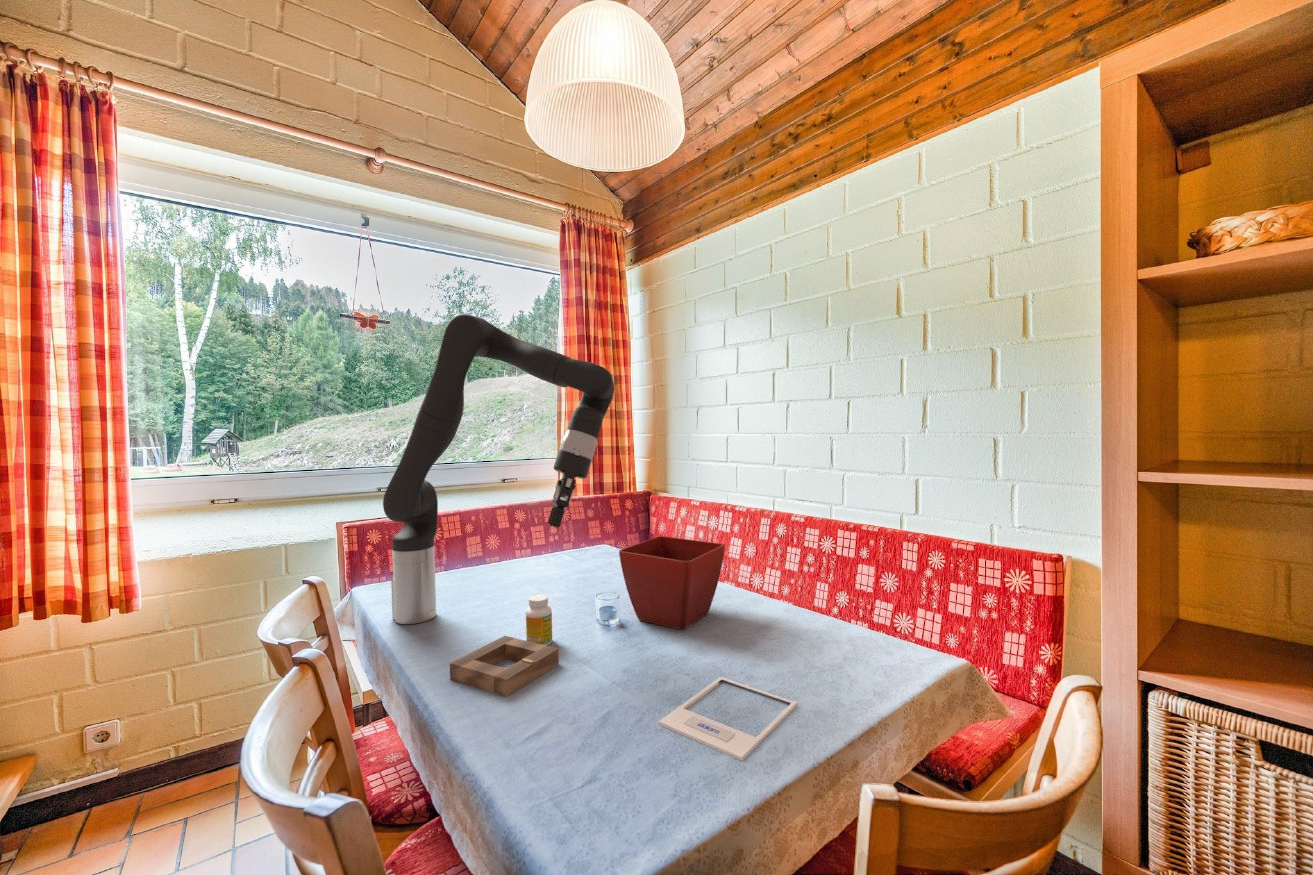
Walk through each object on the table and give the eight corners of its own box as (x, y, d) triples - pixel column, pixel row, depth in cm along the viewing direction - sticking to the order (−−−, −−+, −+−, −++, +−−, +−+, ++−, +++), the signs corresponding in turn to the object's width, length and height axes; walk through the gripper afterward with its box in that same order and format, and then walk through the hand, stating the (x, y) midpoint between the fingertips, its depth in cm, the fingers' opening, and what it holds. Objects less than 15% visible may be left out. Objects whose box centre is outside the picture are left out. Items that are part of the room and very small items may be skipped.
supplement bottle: (546, 649, 112) (545, 602, 112) (522, 647, 113) (520, 601, 113) (556, 638, 117) (555, 594, 117) (533, 637, 118) (532, 593, 118)
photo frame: (658, 720, 84) (720, 675, 98) (658, 727, 84) (720, 681, 98) (741, 755, 75) (796, 701, 89) (741, 763, 75) (796, 707, 89)
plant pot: (727, 611, 132) (726, 543, 131) (689, 639, 116) (688, 561, 115) (661, 598, 142) (660, 535, 141) (617, 622, 126) (616, 550, 125)
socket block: (450, 679, 100) (449, 661, 99) (505, 649, 112) (504, 634, 112) (506, 696, 93) (506, 678, 93) (558, 663, 105) (558, 647, 105)
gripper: (557, 451, 125) (535, 519, 122) (561, 445, 112) (536, 522, 109) (588, 461, 127) (567, 528, 124) (596, 456, 113) (572, 532, 110)
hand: (553, 525), depth 116 cm, fingers open, 8 cm apart
